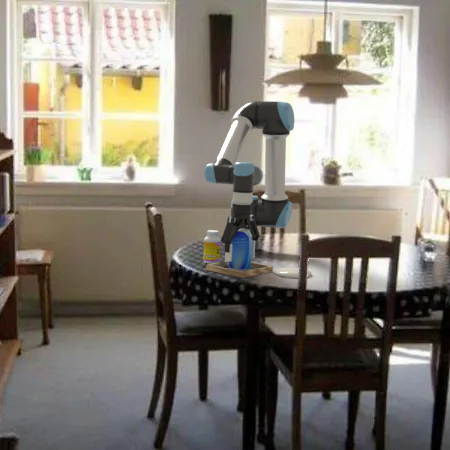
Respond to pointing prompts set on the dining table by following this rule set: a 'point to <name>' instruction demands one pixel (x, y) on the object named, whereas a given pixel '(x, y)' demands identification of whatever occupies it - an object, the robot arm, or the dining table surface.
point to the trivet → (288, 272)
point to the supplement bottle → (212, 247)
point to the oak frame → (258, 270)
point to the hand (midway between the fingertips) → (239, 258)
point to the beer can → (241, 250)
